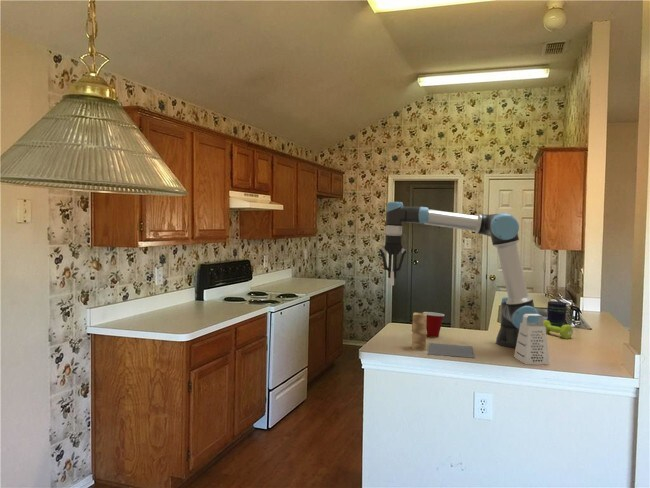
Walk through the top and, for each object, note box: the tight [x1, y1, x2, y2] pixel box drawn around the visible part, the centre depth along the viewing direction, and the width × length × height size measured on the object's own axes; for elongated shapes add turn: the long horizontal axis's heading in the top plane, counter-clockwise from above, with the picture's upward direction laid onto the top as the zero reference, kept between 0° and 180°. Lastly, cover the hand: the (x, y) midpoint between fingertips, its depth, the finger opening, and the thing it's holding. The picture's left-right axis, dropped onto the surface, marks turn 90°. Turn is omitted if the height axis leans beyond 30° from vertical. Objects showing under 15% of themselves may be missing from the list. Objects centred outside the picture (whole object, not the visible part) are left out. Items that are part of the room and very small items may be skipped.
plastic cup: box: [422, 311, 445, 338], centre depth 253 cm, size 11×11×12 cm
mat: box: [427, 342, 476, 359], centre depth 225 cm, size 20×20×1 cm
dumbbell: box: [543, 319, 574, 340], centre depth 260 cm, size 16×8×7 cm, turn 29°
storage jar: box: [546, 300, 568, 328], centre depth 276 cm, size 10×10×15 cm
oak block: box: [411, 312, 427, 351], centre depth 228 cm, size 6×6×16 cm
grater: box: [513, 313, 550, 365], centre depth 211 cm, size 10×10×20 cm
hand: (392, 285), depth 230 cm, fingers closed
